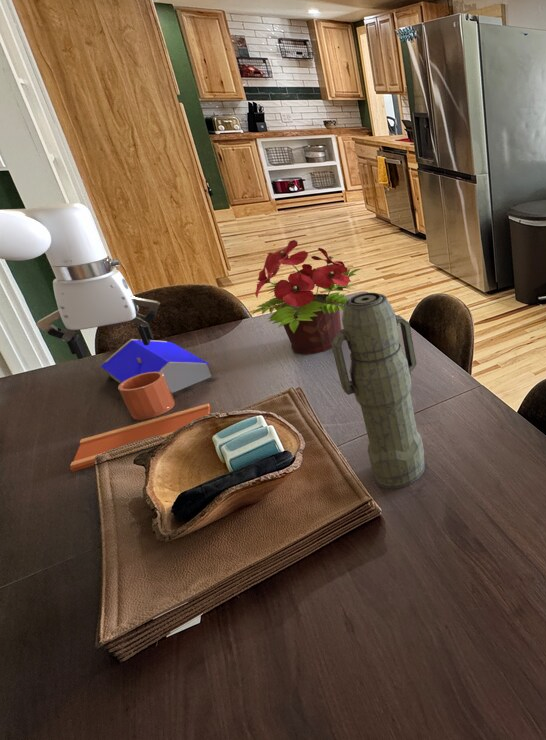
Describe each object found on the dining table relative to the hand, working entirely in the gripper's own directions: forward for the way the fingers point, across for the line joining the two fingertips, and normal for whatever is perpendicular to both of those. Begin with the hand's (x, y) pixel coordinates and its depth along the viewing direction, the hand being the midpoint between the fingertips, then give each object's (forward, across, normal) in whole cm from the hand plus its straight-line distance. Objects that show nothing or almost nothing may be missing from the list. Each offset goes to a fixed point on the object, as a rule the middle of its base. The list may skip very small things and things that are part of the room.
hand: (116, 349), depth 96 cm
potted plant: (+15, -36, -11) cm, 41 cm away
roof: (+16, -2, -17) cm, 24 cm away
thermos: (+16, -41, +50) cm, 66 cm away
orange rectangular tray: (+16, -2, +10) cm, 19 cm away
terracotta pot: (+16, -2, -1) cm, 16 cm away
